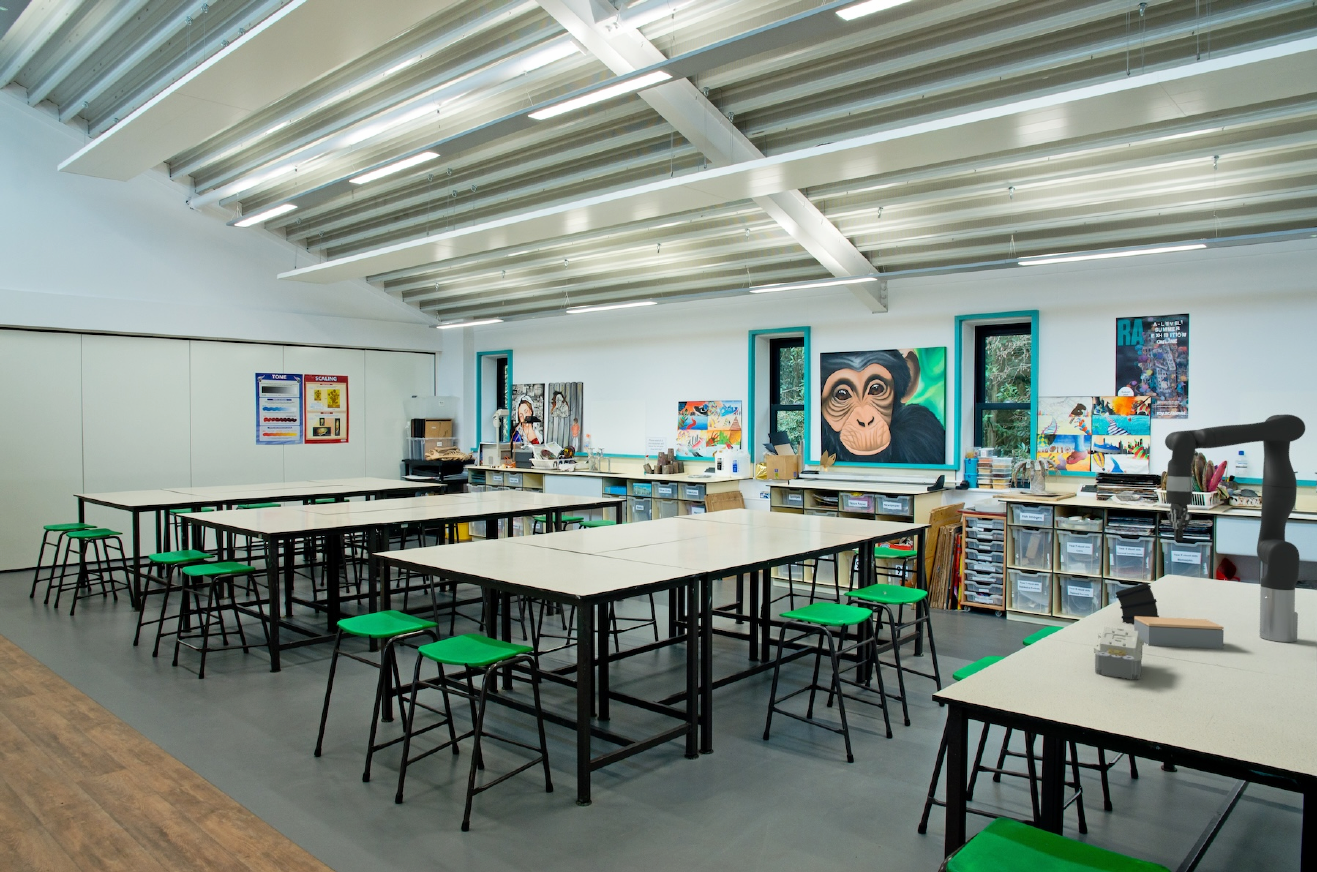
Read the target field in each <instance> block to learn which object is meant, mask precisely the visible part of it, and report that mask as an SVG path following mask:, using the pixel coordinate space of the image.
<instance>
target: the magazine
mask: <svg viewBox="0 0 1317 872" xmlns="http://www.w3.org/2000/svg"><path fill="white" fill-rule="evenodd" d="M1151 587H1152V585H1150V584H1149V583H1148V582H1144V583H1142V584H1138V585H1135V586H1131V587H1128V588H1125V589H1122V590H1117V591H1115V595H1116V596H1115V599H1118V601H1119V603H1120V606H1119V608H1120V610H1121V611H1122V613H1121V614H1122V615H1121V619H1122V623H1123V622H1126V623H1125V624H1129V623H1132V624H1131V625H1134V616H1140V617H1160V615H1158V613H1159V612H1158V607H1157V602H1158V601H1157V598H1155V596H1154V594H1153V593H1154V592H1153V591H1152V589H1151Z"/></svg>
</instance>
